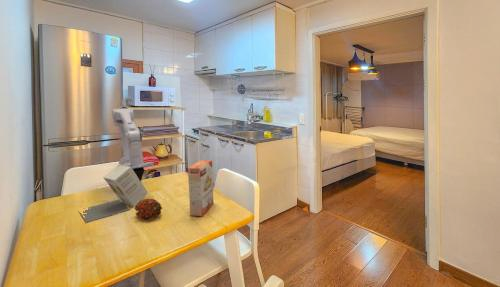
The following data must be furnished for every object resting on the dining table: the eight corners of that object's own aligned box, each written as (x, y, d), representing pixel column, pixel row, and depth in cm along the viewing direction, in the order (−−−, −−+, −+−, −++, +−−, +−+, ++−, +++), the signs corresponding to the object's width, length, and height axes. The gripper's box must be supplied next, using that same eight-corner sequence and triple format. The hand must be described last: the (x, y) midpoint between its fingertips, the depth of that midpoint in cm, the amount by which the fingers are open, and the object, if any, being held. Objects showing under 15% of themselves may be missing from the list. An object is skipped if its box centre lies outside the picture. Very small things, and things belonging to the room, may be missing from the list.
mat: (78, 210, 113) (78, 210, 113) (119, 200, 124) (119, 199, 124) (86, 223, 101) (85, 222, 101) (130, 209, 113) (130, 209, 113)
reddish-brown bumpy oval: (162, 223, 104) (138, 224, 107) (169, 204, 109) (145, 206, 113) (151, 212, 98) (125, 214, 101) (159, 193, 104) (134, 195, 107)
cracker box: (203, 217, 104) (200, 168, 101) (189, 216, 106) (186, 167, 102) (214, 203, 118) (212, 159, 114) (202, 202, 119) (200, 159, 115)
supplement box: (122, 203, 121) (101, 177, 112) (136, 189, 127) (118, 163, 118) (134, 207, 116) (114, 180, 107) (149, 192, 122) (131, 166, 113)
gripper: (122, 159, 111) (126, 189, 113) (154, 153, 121) (157, 181, 123) (117, 157, 117) (121, 186, 119) (148, 152, 126) (151, 178, 128)
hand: (139, 183), depth 121 cm, fingers closed, pressing on supplement box
